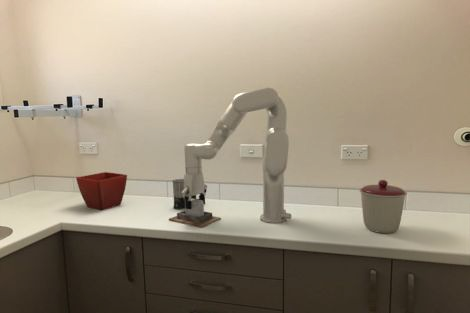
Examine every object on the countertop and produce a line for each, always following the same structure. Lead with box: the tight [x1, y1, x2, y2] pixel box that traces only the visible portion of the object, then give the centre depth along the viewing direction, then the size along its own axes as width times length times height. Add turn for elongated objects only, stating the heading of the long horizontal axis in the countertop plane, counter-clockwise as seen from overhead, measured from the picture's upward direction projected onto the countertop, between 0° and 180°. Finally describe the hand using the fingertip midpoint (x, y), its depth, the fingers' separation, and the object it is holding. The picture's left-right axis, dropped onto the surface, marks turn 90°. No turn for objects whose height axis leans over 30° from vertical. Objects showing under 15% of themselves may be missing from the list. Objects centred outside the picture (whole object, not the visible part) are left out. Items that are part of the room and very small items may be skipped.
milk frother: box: [171, 178, 199, 210], centre depth 183 cm, size 14×16×15 cm
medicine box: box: [184, 198, 205, 217], centre depth 158 cm, size 8×4×9 cm, turn 57°
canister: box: [359, 179, 408, 234], centre depth 141 cm, size 18×18×21 cm
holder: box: [168, 210, 222, 229], centre depth 158 cm, size 20×14×3 cm
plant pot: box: [75, 171, 128, 211], centre depth 184 cm, size 19×19×17 cm
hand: (195, 206), depth 158 cm, fingers open, 9 cm apart
